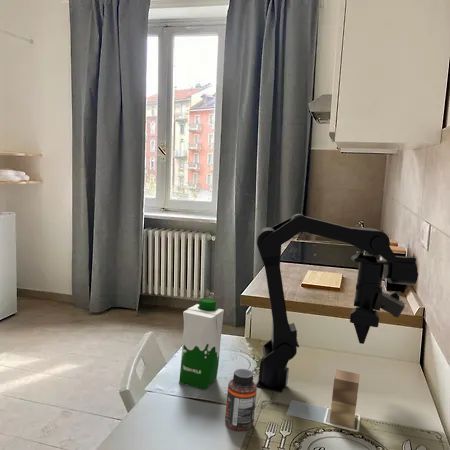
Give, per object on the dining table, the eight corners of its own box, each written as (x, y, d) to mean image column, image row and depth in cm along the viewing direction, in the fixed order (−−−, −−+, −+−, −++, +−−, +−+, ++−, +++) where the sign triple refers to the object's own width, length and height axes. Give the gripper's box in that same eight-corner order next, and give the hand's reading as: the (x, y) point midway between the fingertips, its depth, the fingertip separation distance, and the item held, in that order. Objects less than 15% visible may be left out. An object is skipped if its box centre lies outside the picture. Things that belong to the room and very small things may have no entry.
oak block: (329, 422, 98) (331, 400, 98) (331, 411, 103) (334, 390, 103) (353, 428, 97) (356, 406, 96) (354, 417, 102) (357, 395, 101)
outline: (323, 423, 98) (323, 422, 98) (327, 408, 105) (327, 407, 105) (358, 432, 95) (358, 431, 95) (360, 415, 102) (360, 415, 102)
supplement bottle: (223, 416, 98) (228, 365, 96) (250, 417, 98) (255, 366, 97) (225, 432, 92) (230, 378, 91) (255, 433, 92) (260, 379, 91)
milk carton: (221, 378, 116) (228, 301, 113) (206, 393, 107) (213, 310, 105) (190, 369, 119) (196, 295, 116) (173, 383, 110) (179, 303, 108)
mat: (286, 414, 100) (286, 413, 100) (292, 400, 107) (292, 399, 107) (354, 431, 96) (354, 431, 96) (355, 416, 102) (356, 415, 102)
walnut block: (331, 400, 98) (334, 378, 97) (334, 390, 103) (336, 369, 102) (355, 406, 96) (358, 383, 96) (357, 395, 101) (359, 374, 100)
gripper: (407, 295, 99) (397, 364, 101) (403, 278, 117) (395, 337, 118) (353, 287, 102) (345, 353, 104) (358, 272, 120) (351, 329, 122)
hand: (361, 343), depth 112 cm, fingers closed
